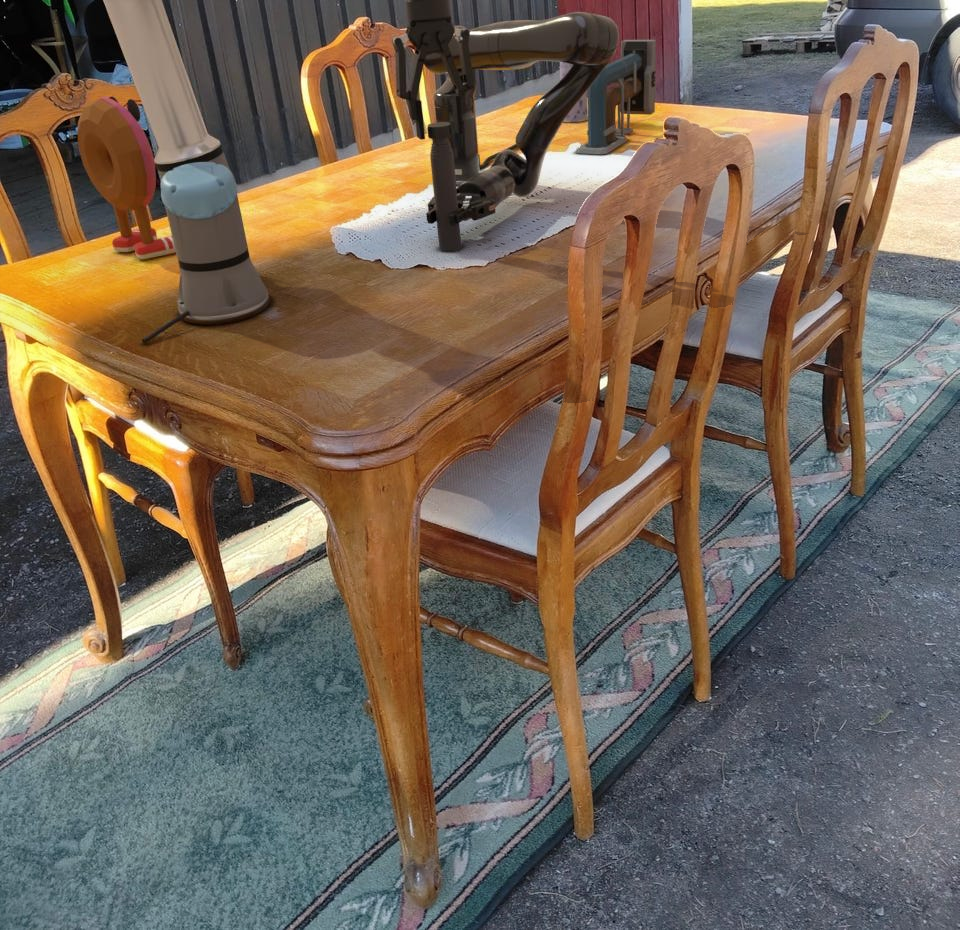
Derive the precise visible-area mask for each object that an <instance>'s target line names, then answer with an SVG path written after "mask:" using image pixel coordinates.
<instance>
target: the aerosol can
mask: <svg viewBox="0 0 960 930" xmlns="http://www.w3.org/2000/svg"><path fill="white" fill-rule="evenodd" d="M571 65H572V64H568V63H564V62H559V81H560V80H561V78H562V77H563V76H564V75H565V74H566V73H567V71H568V70H569V69H570V67H571ZM584 121H588V90H587V91H586V92H585V93H584V94H583V96H582V97H581V98H580V99H579V101H578V102H577V103H576V105H575V106H574V107H573V108H572V110H571V111H570V113H569V114H568V116H567V117H566V119H565V120H564V122H563V123H580V122H584Z"/></svg>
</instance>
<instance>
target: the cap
mask: <svg viewBox="0 0 960 930" xmlns="http://www.w3.org/2000/svg"><path fill="white" fill-rule="evenodd" d="M451 136H452V131H451V124H450V123H449V122H436V121H435V122H432V123H428V124H427V137H428V138H429V139H430V140H432V139H444V138H448V137H451Z"/></svg>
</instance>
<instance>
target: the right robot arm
mask: <svg viewBox="0 0 960 930" xmlns="http://www.w3.org/2000/svg"><path fill="white" fill-rule="evenodd" d="M454 27H455V28H458V29H461V28H464V29H467V30H469V31H470V37H469V43H468V45H469V52H470V58H471V65H472V71H473V78H474V84H475V87H474V89H471V90H469V91H467V93H466V94H465V102H466V112H465V113H461V116H462V128H463V134H458V133H456V132H455V131H454V119H453V107H452V96H451V94H456V91H455V89H454V86H453V84H452V82H451V79H450V77H449V74H448V72H447V69H446V67H445V64H444V62H443V59H442V57H441V56H440V54H438V53H433V54H430V55H426V59H425V61H424V65H423V66H424V67H425V69H427V70H429V71H430V72H432V73H433V74H436V75H447V77H446V80H445V81H444V83H443V84H442V85H441V86H440V87H439V88H438V89H436V90H435V92H434V93H433V105H434V114H435V123H436V122H449V123H450V124H451V131H452V136H451V137H448V140H449V142H450V145H451V148H452V151H453V155H454V166H455V178H456V189H457V201H458V210H456V211H454V212H453V213H451V214H450V221H451V225H454V226H455V225H457V224H458V223H459V224H460V223H462V222H467V221H469V220H472V221H475V222H476V221H479V220H481V219H484V218H487V217H489V216H491V215H494V214H496V208H497V207H498V206H499V205H500V204H501V203H502V202H504V201H506V200H507V199H508V198H510V197H511V196H512V195H514V196H516V197H518V198H525V197H528V196H529V195H531V194H532V193H533V192H534V191H535V189H536V187H537V186H538V182H540V176H541V173H542V168H543V163H544V161H545V157H546V154H547V152H548V150H549V148H550V146H551V144H552V143H553V141H554V139H555V137H556V135H557V133H558V132H559V131H560V128H561V127H562V125H563V123H565V122H564V120H565V119H566V117H567V116H568V114H569V113H570V111H571V110H572V108H573V107H574V106H575V105H576V103H577V102H578V101H579V99H580V98H581V97H582V96H583V94H584V93H585V92H586V91H587V92H588V88H589V87H590V86H591V84H592V83H593V82H594V80H595V79H596V78H597V77H598V76H599V74H600V73H601V72H602V71H603V69H604V68H605V67H606V66H607V65H608V64H610V63H611V60H612V59H613V57H614V56H615V54H616V52H617V49H618V46H619V41H620V33H619V28H618V26H617V24H616V23H615V20H613V19H612V18H610V17H609V16H604V15H601V14H596V13H590V12H583V11H573V12H569V13H565V14H562V15H558V16H554V17H551V18H548V19H547V18H546V19H542V20H532V19H519V20H518V19H516V20H506V21H505V20H504V21H498V22H494V23H489V24H486V25H485V24H484V25H481V26H478V27H475V28H472V29H471V28H470V29H468V28H467V27H465V26H463V25H454ZM448 46H449V49H450V51H451V54H452V58H453V60H454V63H455V65H456V68H457V70H458V73H459V75H460V78H461V80H462V83H464V81H463V74H462V68H461V62H460V55H459V49H458V41H456V39H455V35H453V37H452V39H451V40H450V42H449V44H448ZM539 62H558V63H560V62H564V63H568V64H572V65H571V67H570V69H569V70H568V71H567V73H566V74H565V75H564V76H563V77H562V78H561V80H560V79H559V80H558V81H557V82H556V83H555V84H554V85H553V86H552V87H550V89H549V90H547V91H546V92H545V93H544V94H543V95H542V96H541V97H540V98H538V99H537V101H536V102H535V103H534V105H532V107H531V109H530V110H529V112H528V113H527V115H526V116H525V118H524V120H523V123H522V124H521V126H520V128H519V130H518V131H517V134H516V135H515V144H512V145H511V146H509V147H507V148H505V149H503V150H501V151H498V152H496V153H494V154H492V155H490V156H488V157H486V158H485V160H484V161H483V163H482V164H481V157H480V156H481V155H480V153H479V142H478V140H479V139H478V128H477V115H476V103H475V100H476V99H475V95H476V91H477V70H483V71H484V70H485V71H512V70H513V71H514V70H522V69H526V68H529V67H531V66H533V65H534V64H535V63H539ZM517 148H518V149H519V150H520V152H521V153H522V154H523V156H524V157H523V156H521V155H520V154H518V153H517V152H516V151H514V150H515V149H517ZM492 160H493V161H492ZM491 161H492V163H491V165H490V167H488V169H486V170H484V171H482V172H481V171H480V170H482V169H484V168H486V167H487V165H488V164H489V162H491ZM457 185H458V186H457ZM427 210H428V211H427V212H426V213H425V216H426V222H427V223H428V224H430V225H432V224H434V223H437V220H436V210H435V200H434V196H432V197H431V199H430V200H429V202H428V203H427Z"/></svg>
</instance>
